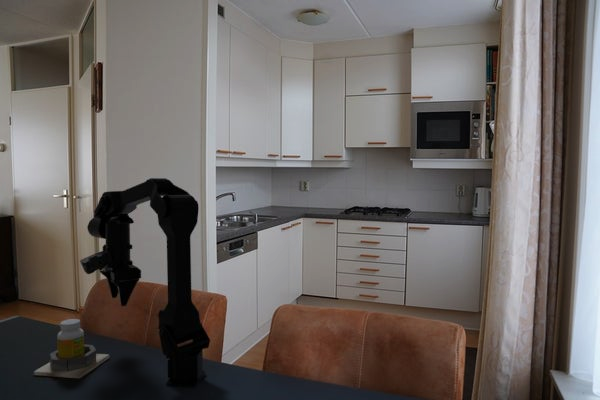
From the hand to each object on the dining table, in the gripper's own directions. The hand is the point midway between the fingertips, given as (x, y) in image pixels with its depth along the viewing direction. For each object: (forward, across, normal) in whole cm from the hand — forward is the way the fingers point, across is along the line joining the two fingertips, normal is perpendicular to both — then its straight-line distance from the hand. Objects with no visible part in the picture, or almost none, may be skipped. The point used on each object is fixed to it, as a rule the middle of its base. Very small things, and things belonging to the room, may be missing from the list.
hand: (118, 301), depth 109 cm
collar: (+12, +5, -11) cm, 17 cm away
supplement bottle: (+11, +5, -12) cm, 17 cm away
